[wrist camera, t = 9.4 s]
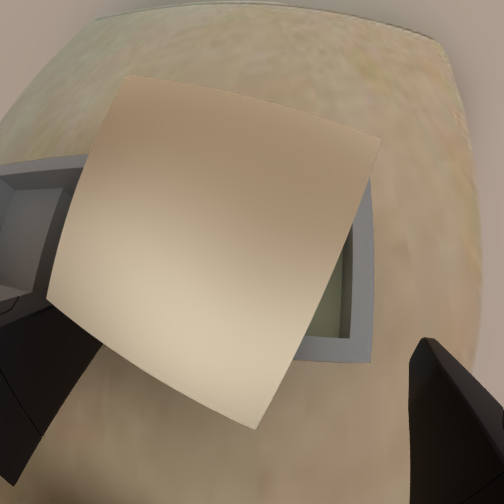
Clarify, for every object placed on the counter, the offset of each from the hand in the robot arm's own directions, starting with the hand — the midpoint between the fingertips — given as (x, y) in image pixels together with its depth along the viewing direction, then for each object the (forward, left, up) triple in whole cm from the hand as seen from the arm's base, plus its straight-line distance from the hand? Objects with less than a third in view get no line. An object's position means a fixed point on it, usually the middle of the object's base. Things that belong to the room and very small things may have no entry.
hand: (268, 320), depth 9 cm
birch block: (+4, 0, -6) cm, 7 cm away
